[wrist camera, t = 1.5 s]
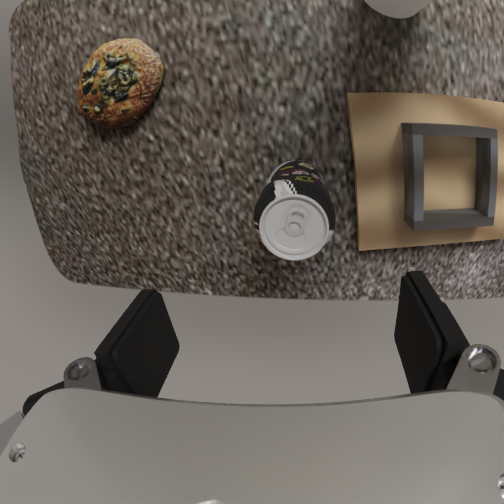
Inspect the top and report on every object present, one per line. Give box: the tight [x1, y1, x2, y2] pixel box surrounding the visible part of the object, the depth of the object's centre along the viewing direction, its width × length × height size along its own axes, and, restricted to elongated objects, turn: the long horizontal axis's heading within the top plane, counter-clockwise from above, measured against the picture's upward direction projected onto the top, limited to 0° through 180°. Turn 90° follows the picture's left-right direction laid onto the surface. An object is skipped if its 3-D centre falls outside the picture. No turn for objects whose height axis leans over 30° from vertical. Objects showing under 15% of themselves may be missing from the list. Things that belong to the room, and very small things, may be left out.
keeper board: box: [346, 92, 504, 251], centre depth 25 cm, size 16×20×4 cm
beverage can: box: [254, 161, 335, 261], centre depth 25 cm, size 6×6×12 cm
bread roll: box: [77, 38, 164, 129], centre depth 26 cm, size 11×11×5 cm
